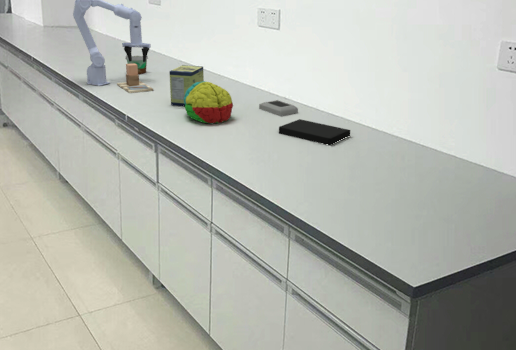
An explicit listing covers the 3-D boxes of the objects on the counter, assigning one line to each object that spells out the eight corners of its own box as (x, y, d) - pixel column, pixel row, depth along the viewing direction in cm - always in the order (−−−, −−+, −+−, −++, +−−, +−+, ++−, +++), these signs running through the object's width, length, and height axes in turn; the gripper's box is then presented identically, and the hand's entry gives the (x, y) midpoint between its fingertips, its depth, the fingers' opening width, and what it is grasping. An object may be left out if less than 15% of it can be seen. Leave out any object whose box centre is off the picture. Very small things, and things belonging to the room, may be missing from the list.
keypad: (276, 98, 269) (298, 105, 257) (276, 106, 270) (297, 113, 259) (259, 101, 263) (280, 108, 252) (259, 109, 265) (280, 117, 253)
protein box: (204, 99, 280) (203, 66, 274) (192, 107, 266) (191, 72, 260) (183, 97, 282) (182, 64, 277) (170, 105, 268) (168, 71, 263)
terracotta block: (126, 73, 302) (125, 64, 300) (135, 73, 304) (134, 63, 302) (129, 75, 298) (128, 65, 297) (138, 74, 300) (137, 64, 299)
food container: (127, 75, 328) (125, 57, 324) (126, 73, 333) (125, 55, 330) (149, 74, 331) (148, 56, 327) (148, 72, 336) (147, 54, 333)
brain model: (173, 113, 255) (173, 78, 249) (212, 107, 265) (212, 73, 259) (200, 129, 237) (200, 92, 231) (241, 122, 247) (242, 87, 241)
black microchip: (330, 146, 217) (330, 138, 216) (278, 134, 231) (278, 126, 230) (349, 137, 228) (350, 129, 227) (299, 126, 241) (299, 119, 240)
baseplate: (117, 85, 305) (116, 73, 303) (139, 82, 311) (139, 71, 309) (129, 93, 289) (128, 80, 287) (153, 90, 295) (152, 78, 293)
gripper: (119, 35, 303) (121, 62, 308) (146, 36, 300) (148, 63, 305) (124, 33, 309) (126, 59, 314) (151, 34, 307) (152, 61, 312)
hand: (137, 61), depth 310 cm, fingers open, 7 cm apart
